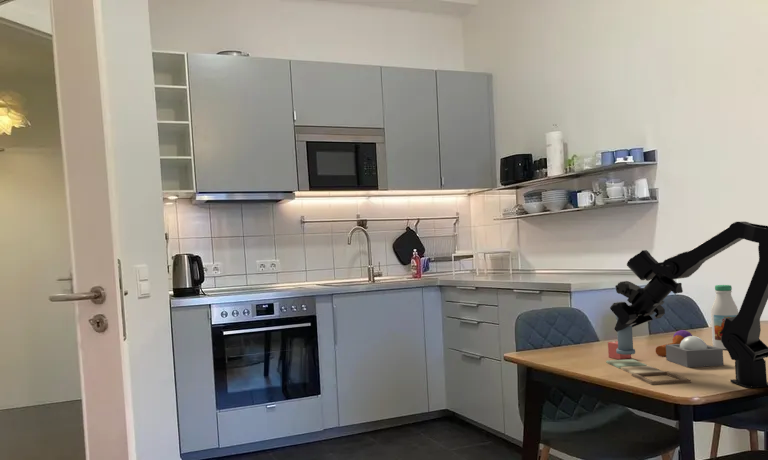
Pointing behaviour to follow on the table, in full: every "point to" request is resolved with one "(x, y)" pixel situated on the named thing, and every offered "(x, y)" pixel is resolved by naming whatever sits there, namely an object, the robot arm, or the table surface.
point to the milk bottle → (721, 312)
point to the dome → (693, 343)
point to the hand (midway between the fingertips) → (620, 329)
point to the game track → (645, 371)
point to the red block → (612, 351)
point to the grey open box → (694, 356)
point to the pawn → (625, 341)
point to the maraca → (676, 340)
